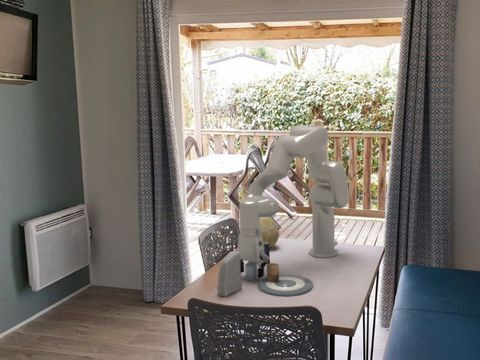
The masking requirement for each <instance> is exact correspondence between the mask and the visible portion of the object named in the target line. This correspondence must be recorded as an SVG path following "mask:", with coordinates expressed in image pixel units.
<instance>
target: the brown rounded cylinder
mask: <svg viewBox="0 0 480 360" xmlns="http://www.w3.org/2000/svg"><path fill="white" fill-rule="evenodd" d="M279 266H280V265H279V263H274V262H270V264H267V265H266V277H267V281H268V282H278V281H279V275H280V269H279Z"/></svg>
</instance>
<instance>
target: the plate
mask: <svg viewBox="0 0 480 360" xmlns="http://www.w3.org/2000/svg"><path fill="white" fill-rule="evenodd" d="M313 287H314V285H313V281H312V280H311V279H309V278H307V277H305V276H302V275H298V274H297V275H296V274H288V273H285V274H284V273H283V274H279V281H278V282H268V281H267V276H266V277H264V278H263V277H262V279H261V280H259V282H258V289H259V291H261V292H263V294H264V293H265V294H267V295H270V296H276V297H296V296H301V295H304V294H307V293H309V292H310V291H312V290H313Z"/></svg>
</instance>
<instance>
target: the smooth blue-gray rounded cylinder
mask: <svg viewBox="0 0 480 360" xmlns="http://www.w3.org/2000/svg"><path fill="white" fill-rule="evenodd" d="M244 271H245V280H246V281H247V282H256V281H257V280H258V265H257V264H256V263H250V262H246V263H244Z"/></svg>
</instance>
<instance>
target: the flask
mask: <svg viewBox="0 0 480 360" xmlns="http://www.w3.org/2000/svg"><path fill="white" fill-rule="evenodd" d="M263 244H264V253H265V254H266V255H267V256H268V257H269V258H270V259H269V261H268V263H267V264H271V257H270V256H271V255H270V248H269V243H267V242H263ZM263 262H264V259H263ZM248 263H256V262H250V261H248ZM260 264H261V263H260Z"/></svg>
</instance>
